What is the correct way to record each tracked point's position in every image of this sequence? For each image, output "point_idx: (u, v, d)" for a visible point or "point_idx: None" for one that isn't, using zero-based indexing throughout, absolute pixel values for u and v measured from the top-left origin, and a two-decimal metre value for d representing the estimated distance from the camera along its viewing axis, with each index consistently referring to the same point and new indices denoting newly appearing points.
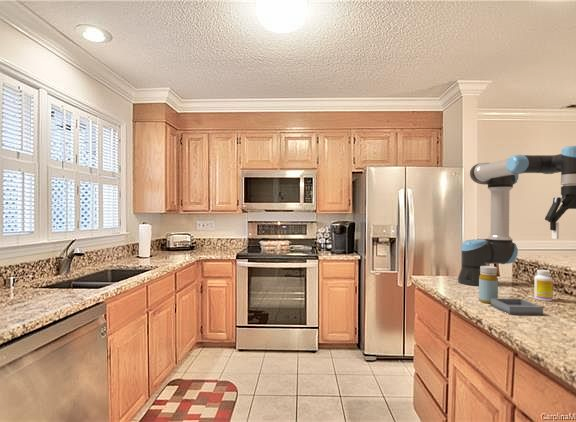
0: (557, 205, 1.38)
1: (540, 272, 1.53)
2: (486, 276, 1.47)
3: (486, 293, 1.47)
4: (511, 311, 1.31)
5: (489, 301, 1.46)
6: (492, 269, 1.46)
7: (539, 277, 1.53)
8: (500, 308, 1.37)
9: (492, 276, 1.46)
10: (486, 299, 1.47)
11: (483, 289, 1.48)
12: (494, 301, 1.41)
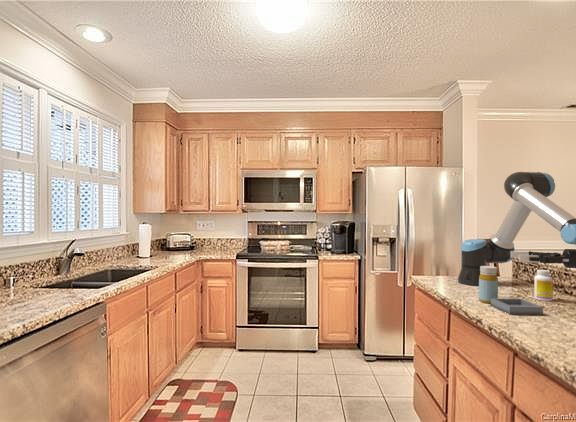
0: (559, 263, 1.35)
1: (540, 272, 1.53)
2: (486, 276, 1.47)
3: (486, 293, 1.47)
4: (511, 311, 1.31)
5: (489, 301, 1.46)
6: (492, 269, 1.46)
7: (539, 277, 1.53)
8: (500, 308, 1.37)
9: (492, 276, 1.46)
10: (486, 299, 1.47)
11: (483, 289, 1.48)
12: (494, 301, 1.41)
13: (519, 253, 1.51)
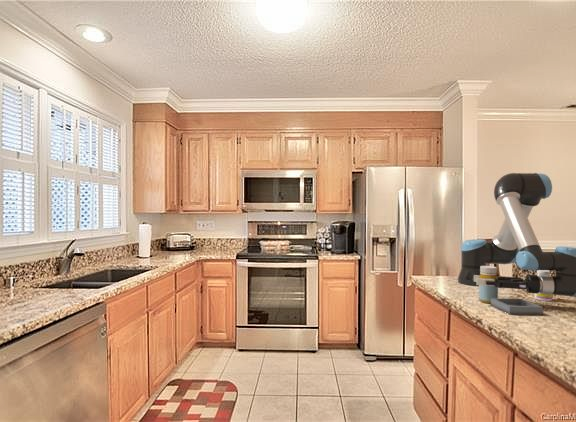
0: None
1: (540, 272, 1.53)
2: (486, 276, 1.47)
3: (486, 293, 1.47)
4: (511, 311, 1.31)
5: (489, 301, 1.46)
6: (492, 269, 1.46)
7: None
8: (500, 308, 1.37)
9: (492, 276, 1.46)
10: (486, 299, 1.47)
11: (483, 289, 1.48)
12: (494, 301, 1.41)
13: None
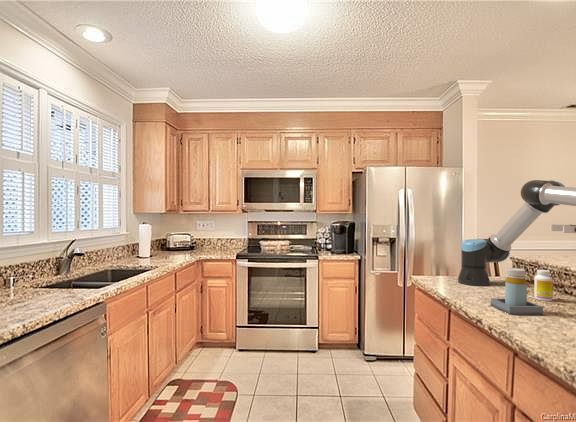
0: None
1: (540, 272, 1.53)
2: (514, 279, 1.35)
3: (514, 297, 1.35)
4: (511, 311, 1.31)
5: None
6: (521, 272, 1.35)
7: (539, 277, 1.53)
8: (500, 308, 1.37)
9: (521, 279, 1.35)
10: (514, 304, 1.35)
11: (510, 293, 1.36)
12: (494, 301, 1.41)
13: (560, 226, 1.46)
